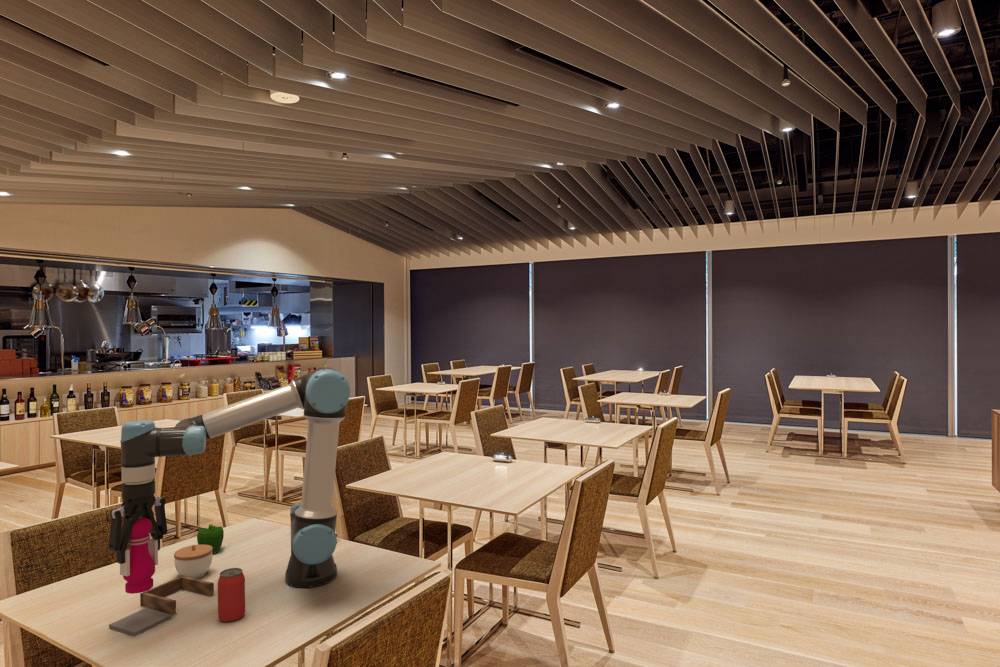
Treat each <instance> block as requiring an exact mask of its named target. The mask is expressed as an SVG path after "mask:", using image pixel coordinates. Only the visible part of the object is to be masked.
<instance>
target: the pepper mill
mask: <svg viewBox="0 0 1000 667" xmlns="http://www.w3.org/2000/svg"><path fill="white" fill-rule="evenodd" d="M151 530H152V522H151V521H150V520H149V519H148V518H146V517H142V516H141V517H140V518H137V521H136V523H134V526H133V528H132V532H131V536H130V539H129V542H128V545H129V550H130V575H129V576H123V575H122V578H123V580H124V581H125V582H126V583H125V585H124V592H125V593H127V594H130V595H131V594H133V595H134V594H140V593H143V592H145V591H147V590H150V589H152V588H154V578H152V577H153V576H154V574H155V573H156V565H155V564H154V561H153V560H152V558H151V556H150V553H149V550H148V542H149V541H150V539H151V535H150V531H151Z"/></svg>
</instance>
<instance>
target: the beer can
mask: <svg viewBox="0 0 1000 667" xmlns="http://www.w3.org/2000/svg"><path fill="white" fill-rule="evenodd" d="M245 578H246V577H245V575H244V570H243V569H242V568H240V567H231V568H225V569H223V570H222V571H220V573H219V577H218V580H217V617H218V620H219V621H220V622H224V623H229V622H235V621H238V620H240V619H241V618H243V617H244V615H245V614H246V579H245Z"/></svg>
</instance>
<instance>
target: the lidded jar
mask: <svg viewBox="0 0 1000 667" xmlns="http://www.w3.org/2000/svg"><path fill="white" fill-rule="evenodd" d="M212 552H213V547H212V546H210V545H204V544H201V545H198V544H192V545H187V546H184V547H181V548H179V549H177V550H176V551H174V553H173V558H174V567H175V570H176V572H177V574H178V575H180V576H186V577H191V578H195V579H200V578H201V577H203V576H205V574H206V573H207V572H208V570H209V569H210V568H211V565H212V563H213V553H212Z"/></svg>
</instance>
